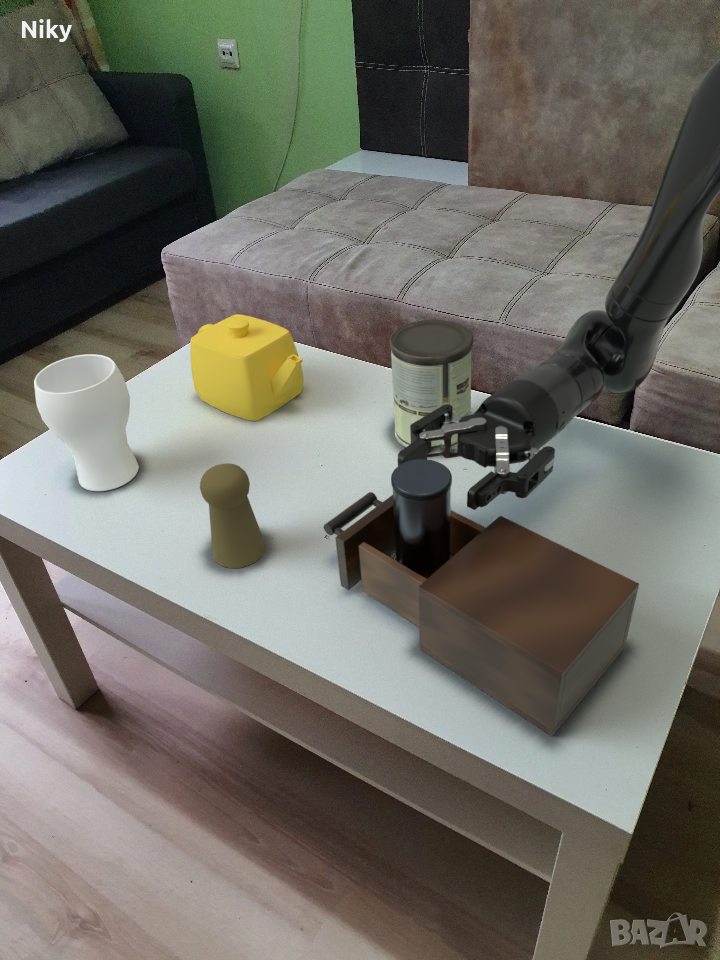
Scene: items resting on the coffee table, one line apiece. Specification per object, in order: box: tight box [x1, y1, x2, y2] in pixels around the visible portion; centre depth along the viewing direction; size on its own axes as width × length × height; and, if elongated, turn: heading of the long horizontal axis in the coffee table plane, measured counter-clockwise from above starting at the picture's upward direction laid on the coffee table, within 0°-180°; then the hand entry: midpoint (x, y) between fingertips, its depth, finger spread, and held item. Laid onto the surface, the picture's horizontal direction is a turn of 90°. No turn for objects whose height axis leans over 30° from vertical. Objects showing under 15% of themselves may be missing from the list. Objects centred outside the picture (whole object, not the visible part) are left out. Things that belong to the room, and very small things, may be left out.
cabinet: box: [418, 515, 640, 737], centre depth 69 cm, size 15×13×9 cm
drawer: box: [323, 491, 487, 628], centre depth 77 cm, size 18×11×7 cm, turn 47°
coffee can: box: [388, 319, 474, 448], centre depth 97 cm, size 10×10×14 cm
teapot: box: [190, 313, 304, 422], centre depth 108 cm, size 20×12×12 cm, turn 51°
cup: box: [33, 353, 139, 492], centre depth 94 cm, size 11×11×15 cm
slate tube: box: [390, 458, 453, 579], centre depth 73 cm, size 6×6×13 cm
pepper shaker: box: [199, 463, 267, 569], centre depth 82 cm, size 6×6×11 cm
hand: (434, 483), depth 72 cm, fingers open, 8 cm apart
